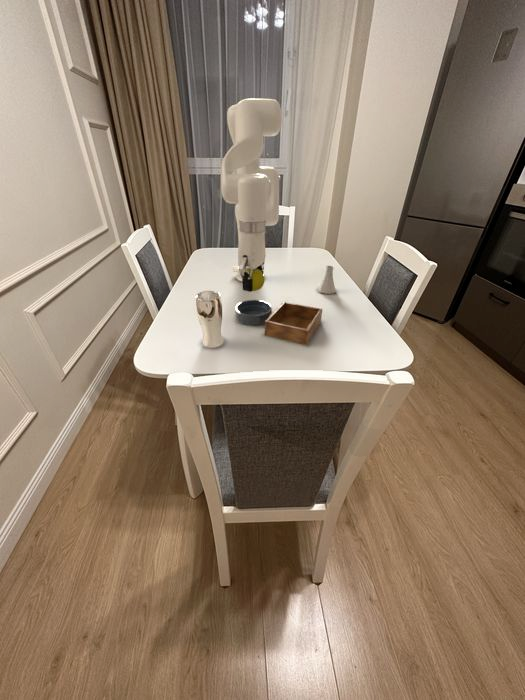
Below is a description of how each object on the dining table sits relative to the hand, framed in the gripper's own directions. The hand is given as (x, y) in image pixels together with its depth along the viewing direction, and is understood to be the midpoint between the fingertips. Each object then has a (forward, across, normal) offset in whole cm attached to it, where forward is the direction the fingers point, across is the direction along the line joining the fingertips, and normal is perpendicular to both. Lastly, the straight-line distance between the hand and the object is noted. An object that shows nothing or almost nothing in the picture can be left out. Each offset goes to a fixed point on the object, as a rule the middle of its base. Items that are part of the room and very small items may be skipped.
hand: (253, 286), depth 91 cm
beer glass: (+12, +19, -4) cm, 23 cm away
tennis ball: (+2, 0, 0) cm, 2 cm away
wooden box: (+12, +1, +15) cm, 19 cm away
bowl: (+12, 0, 0) cm, 12 cm away
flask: (+12, -34, +17) cm, 40 cm away
